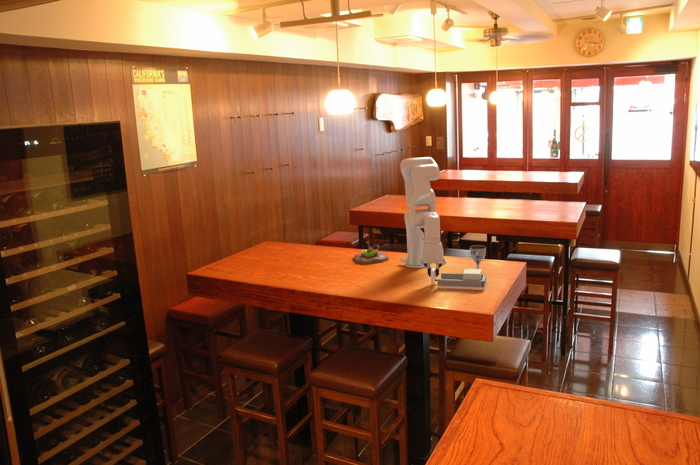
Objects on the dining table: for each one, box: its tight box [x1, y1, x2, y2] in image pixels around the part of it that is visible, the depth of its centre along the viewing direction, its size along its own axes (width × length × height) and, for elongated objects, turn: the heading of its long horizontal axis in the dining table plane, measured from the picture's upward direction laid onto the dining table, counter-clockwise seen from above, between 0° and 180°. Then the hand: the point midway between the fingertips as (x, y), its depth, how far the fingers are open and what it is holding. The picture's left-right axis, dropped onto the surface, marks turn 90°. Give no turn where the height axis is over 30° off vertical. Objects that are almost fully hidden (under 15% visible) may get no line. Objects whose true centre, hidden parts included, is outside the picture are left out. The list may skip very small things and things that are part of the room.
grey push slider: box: [430, 267, 483, 284], centre depth 278 cm, size 24×8×6 cm, turn 72°
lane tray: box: [437, 272, 487, 291], centre depth 277 cm, size 22×12×4 cm, turn 72°
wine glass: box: [469, 244, 487, 269], centre depth 290 cm, size 8×8×15 cm
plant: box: [353, 240, 389, 265], centre depth 334 cm, size 20×20×11 cm
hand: (433, 275), depth 281 cm, fingers closed
